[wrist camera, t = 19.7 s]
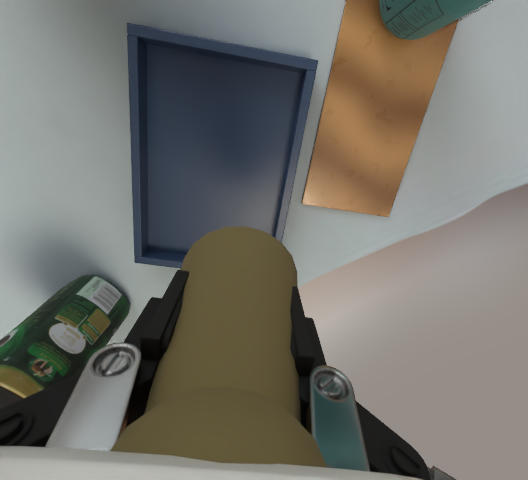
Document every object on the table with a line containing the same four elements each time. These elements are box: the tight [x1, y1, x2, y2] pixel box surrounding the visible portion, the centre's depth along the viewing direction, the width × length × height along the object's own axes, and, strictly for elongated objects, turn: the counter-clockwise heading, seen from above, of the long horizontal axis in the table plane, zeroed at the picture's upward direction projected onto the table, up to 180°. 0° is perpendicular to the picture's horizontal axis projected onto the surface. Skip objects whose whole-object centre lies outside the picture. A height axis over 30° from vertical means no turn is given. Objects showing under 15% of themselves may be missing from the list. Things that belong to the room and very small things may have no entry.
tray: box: [127, 23, 318, 268], centre depth 27 cm, size 22×16×2 cm
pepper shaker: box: [110, 226, 327, 468], centre depth 9 cm, size 6×6×11 cm
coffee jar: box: [0, 275, 130, 409], centre depth 25 cm, size 10×8×19 cm
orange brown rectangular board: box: [302, 0, 459, 217], centre depth 25 cm, size 23×10×1 cm, turn 171°
